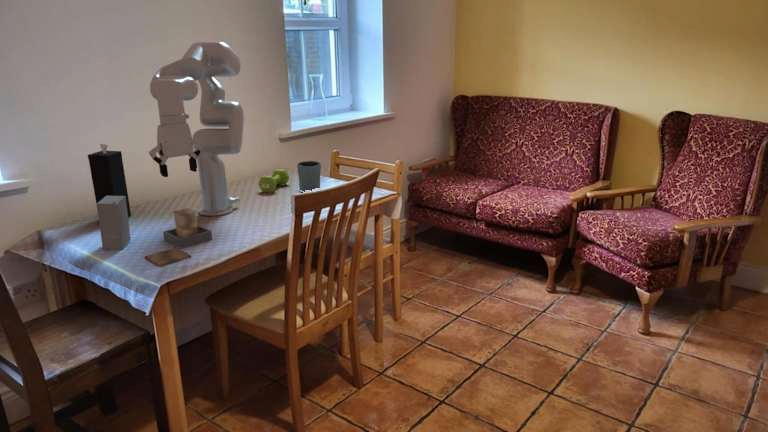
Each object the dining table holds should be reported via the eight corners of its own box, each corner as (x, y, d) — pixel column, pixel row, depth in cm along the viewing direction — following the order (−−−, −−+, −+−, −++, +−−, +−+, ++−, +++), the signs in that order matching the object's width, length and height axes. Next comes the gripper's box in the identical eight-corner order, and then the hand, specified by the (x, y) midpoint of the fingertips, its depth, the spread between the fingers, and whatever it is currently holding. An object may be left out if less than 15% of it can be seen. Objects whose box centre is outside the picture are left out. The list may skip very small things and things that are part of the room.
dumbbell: (274, 194, 241) (273, 177, 239) (257, 192, 243) (256, 176, 241) (291, 184, 256) (290, 168, 254) (275, 183, 258) (273, 167, 256)
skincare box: (111, 241, 188) (103, 195, 183) (133, 240, 188) (126, 194, 183) (101, 250, 180) (93, 202, 175) (125, 249, 180) (117, 202, 175)
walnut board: (175, 249, 180) (175, 247, 180) (191, 257, 174) (191, 255, 174) (144, 258, 174) (144, 256, 173) (159, 266, 167) (159, 264, 167)
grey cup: (302, 187, 250) (300, 160, 247) (324, 187, 249) (323, 160, 245) (295, 193, 241) (294, 165, 237) (319, 194, 240) (317, 166, 236)
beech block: (191, 236, 192) (187, 207, 189) (198, 239, 189) (195, 210, 185) (177, 240, 188) (173, 210, 185) (184, 243, 185) (181, 213, 182)
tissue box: (118, 222, 206) (105, 146, 198) (99, 221, 208) (85, 145, 199) (131, 216, 214) (119, 142, 205) (112, 215, 215) (100, 141, 206)
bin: (195, 231, 196) (194, 223, 195) (212, 239, 189) (211, 230, 188) (164, 240, 188) (162, 231, 187) (180, 248, 181) (179, 239, 180)
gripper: (192, 115, 185) (198, 167, 190) (139, 121, 173) (147, 176, 178) (204, 117, 180) (210, 170, 185) (151, 124, 168) (158, 180, 173)
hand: (179, 173), depth 182 cm, fingers open, 9 cm apart
